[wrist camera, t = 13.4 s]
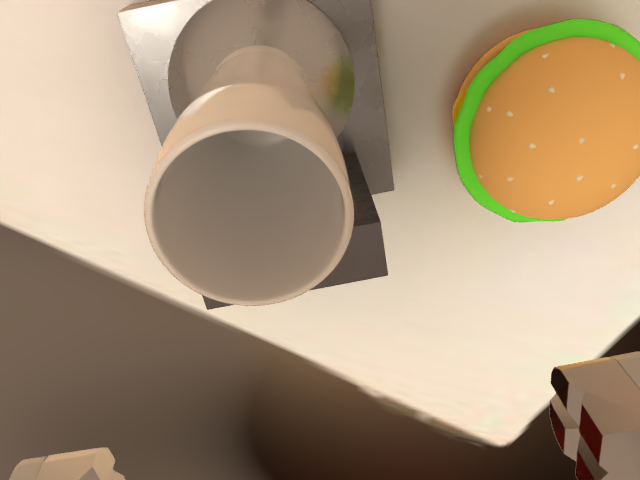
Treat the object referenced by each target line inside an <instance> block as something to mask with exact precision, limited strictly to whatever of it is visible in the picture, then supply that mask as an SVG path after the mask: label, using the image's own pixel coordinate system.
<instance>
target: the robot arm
mask: <svg viewBox="0 0 640 480" xmlns="http://www.w3.org/2000/svg"><path fill="white" fill-rule="evenodd" d="M551 385H552V386H553V388H554V390H555V391H556V394H555V396H554V397H553V398H552V399H551V400H550V418H551V423H552V428H553V431H554V434H555V436H556V439H557V442H558V443H559V445H560V447H561V449H562V451H563V453H564V454H565V455H567V456H569V457H570V458H572V459H573V460H575V461H576V474H575V475H576V477H577V479H578V480H640V352H633V353H628V354H623V355H618V356H612V357H609V358H608V357H606V358H600V359H595V360H590V361H584V362H579V363H574V364H568V365H563V366H558V367H554V369H553V371H552V373H551ZM114 462H115V459H114V457H113V455H112V454H111V452H110V450H109V449H108V448H96V449H89V450H83V451H76V452H69V453H63V454H56V455H50V456H46V457H40V458H33V459H26V460H22V461H21V462H20V463H19V464H18V465H17V466H16V467H15V469H14V471H13V473H12V475H11V477H10V479H9V480H125V478H124V476H123V475H121V474H119V473H117V472H115V471H113V470H112V469H113V465H114Z"/></svg>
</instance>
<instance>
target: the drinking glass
mask: <svg viewBox="0 0 640 480" xmlns="http://www.w3.org/2000/svg"><path fill="white" fill-rule="evenodd" d="M144 219H145V226H146V230H147V234H148V237H149V240H150V243H151V245H152V247H153V249H154V251H155V253H156V255H157V256H158V258H159V259H160V261H161V262H162V264H163V265H164V266H165V267H166V268H167V270H168V271H169V272H170V273H171V274H172V275H173V276H174V277H175V278H176V279H178V280H179V281H180V282H181V283H183V284H184V285H185V286H187V287H189V288H190V289H192V290H193V291H195V292H197V293H199V294H201V295H203V296H205V297H208V298H210V299H213V300H216V301H220V302H224V303H228V304H234V305H243V306H260V305H269V304H275V303H279V302H283V301H286V300H289V299H292V298H294V297H297V296H299V295H301V294H303V293H305V292H307V291H309V290H310V289H312V288H313V287H315V286H316V285H318V284H319V283H320V282H321V281H323V280H324V279H325V278H326V277H327V276H328V275H329V274H330V273H331V272H332V271H333V270H334V268H335V267H336V266H337V264H338V263H339V262H340V260H341V258H342V257H343V255H344V253H345V251H346V249H347V247H348V244H349V241H350V238H351V234H352V230H353V222H354V207H353V199H352V194H351V187H350V181H349V176H348V172H347V167H346V163H345V159H344V156H343V153H342V150H341V147H340V144H339V142H338V139H337V137H336V135H335V133H334V130H333V128H332V126H331V124H330V122H329V121H328V119H327V117H326V115H325V114H324V112H323V110H322V109H321V107H320V105H319V103H318V102H317V100H316V98H315V96H314V94H313V93H312V91H311V89H310V87H309V83H308V80H307V77H306V75H305V73H304V71H303V70H302V68H301V67H300V65H299V64H298V63H297V62H296V61H295V60H294V59H293V58H292V57H291V56H289V55H288V54H287V53H285V52H283V51H281V50H279V49H277V48H274V47H271V46H266V45H251V46H246V47H242V48H240V49H237V50H235V51H233V52H232V53H230V54H229V55H228V56H226V57H225V58H224V59H223V60H222V61H221V62H220V64H219V65H218V66H217V68H216V69H215V71H214V73H213V75H212V77H211V79H210V80H209V81H208V82H207V83H206V85H205V86H204V87H203V88H202V89H201V91H200V92H199V93H198V94H197V95H196V96H195V98H194V99H193V100H192V101H191V102H190V103H189V105H188V106H187V107H186V108H185V110H184V111H183V112H182V113H181V115H180V116H179V118H178V119H177V121H176V122H175V124H174V125H173V127H172V128H171V130H170V132H169V134H168V136H167V138H166V140H165V142H164V144H163V146H162V148H161V150H160V153H159V155H158V158H157V160H156V163H155V166H154V168H153V171H152V175H151V178H150V181H149V183H148V186H147V190H146V194H145V202H144Z"/></svg>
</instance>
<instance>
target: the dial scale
mask: <svg viewBox="0 0 640 480" xmlns="http://www.w3.org/2000/svg"><path fill="white" fill-rule="evenodd" d="M117 14H118V17H119V20H120V23H121V26H122V29H123V32H124V35H125V38H126V41H127V44H128V47H129V50H130V53H131V56H132V59H133V62H134V65H135V68H136V71H137V74H138V77H139V79H140V82H141V85H142V88H143V91H144V94H145V97H146V100H147V103H148V106H149V109H150V112H151V115H152V118H153V121H154V124H155V127H156V130H157V133H158V136H159V139H160V142H161V145H162V146H163V144H164V142H165V140H166V138H167V136H168V134H169V132H170V130H171V128H172V127H173V125H174V124H175V122H176V121H177V119H178V118H179V116H180V115H181V113H182V112H183V111H184V110H185V108H186V107H187V106H188V105H189V103H190V102H191V101H192V100H193V99H194V98H195V96H196V95H197V94H198V93H199V92H200V91H201V89H202V88H203V87H204V86H205V85H206V83H207V82H208V81H209V80H210V79H211V77H212V75H213V73H214V71H215V69H216V68H217V66H218V65H219V64H220V62H221V61H222V60H223V59H224V58H225V57H226V56H228V55H229V54H230V53H232V52H233V51H235V50H237V49H240V48H242V47H246V46H251V45H266V46H271V47H274V48H277V49H279V50H281V51H283V52H285V53H287V54H288V55H289V56H291V57H292V58H293V59H294V60H295V61H296V62H297V63H298V64H299V65H300V67H301V68H302V70H303V71H304V73H305V75H306V77H307V80H308V83H309V87H310V89H311V91H312V93H313V94H314V96H315V98H316V100H317V102H318V103H319V105H320V107H321V109H322V110H323V112H324V114H325V115H326V117H327V119H328V121H329V122H330V124H331V126H332V128H333V130H334V133H335V135H336V137H337V139H338V142H339V144H340V147H341V150H342V153H343V156H344V159H345V163H346V167H347V172H348V176H349V181H350V187H351V194H352V199H353V207H354V222H353V230H352V234H351V238H350V241H349V244H348V247H347V249H346V251H345V253H344V255H343V257H342V258H341V260H340V262H339V263H338V264H337V266H336V267H335V268H334V270H333V271H332V272H331V273H330V274H329V275H328V276H327V277H326V278H325V279H324V280H323V281H321V282H320V283H319V284H318V285H316V286H315V287H313V288H312V289H310V290H314V289H319V288H324V287H329V286H335V285H340V284H345V283H350V282H356V281H361V280H366V279H371V278H377V277H382V276H387V275H388V271H387V264H386V257H385V250H384V243H383V236H382V229H381V222H380V219H379V216H378V214H377V211H376V208H375V205H374V202H373V199H372V197H371V195H372V194H377V193H382V192H388V191H393V190H394V184H393V176H392V168H391V160H390V152H389V144H388V136H387V128H386V120H385V112H384V104H383V96H382V88H381V80H380V72H379V64H378V56H377V48H376V40H375V32H374V24H373V16H372V8H371V0H151V1H146V2H141V3H136V4H131V5H128V6H127V7H125V8H124V9H122V10H121V11H119V12H117ZM202 296H203V295H202ZM203 299H204V302H205V305H206V308H207V310H208V309H214V308H219V307H224V306H230V305H234V304H228V303H224V302H220V301H216V300H213V299H210V298H208V297H205V296H203Z"/></svg>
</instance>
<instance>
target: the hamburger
mask: <svg viewBox="0 0 640 480" xmlns="http://www.w3.org/2000/svg"><path fill="white" fill-rule="evenodd" d="M452 119H453V128H454V130H453V145H454V153H455V160H456V166H457V171H458V174H459V176H460V179H461V181H462V182H463V184H464V186H465V187H466V189H467V190H468V192H469V193H470V194H471V196H472V197H473V198H474V199H475V200H476V201H477V202H478V203H479V204H480V205H482V206H484V207H485V208H487V209H489V210H490V211H492V212H494V213H496V214H498V215H500V216H502V217H504V218H506V219H509V220H511V221H514V222H530V221H561V220H565V219H567V218H573V217H578V216H581V215H584V214H587V213H590V212H593V211H595V210H597V209H599V208H601V207H603V206H605V205H607V204H608V203H610V202H611V201H613V200H614V199H616V198H617V197H619V196H620V195H621V194H622V193H623V192H624V191H625V190H627V189H628V188H629V187H630V186H631V185H632V184H633V182H634V181H635V180H636V179H637V178H638V177H639V176H640V42H639V41H638V40H636V39H635V38H634V37H633V36H631V35H630V34H629V33H627V32H626V31H624V30H623V29H621V28H619V27H617V26H615V25H612V24H609V23H605V22H602V21H596V20H591V19H569V20H565V21H561V22H558V23H555V24H551V25H547V26H544V27H540V28H535V29H530V30H525V31H523V32H520V33H517V34H515V35H512V36H510V37H508V38H507V39H505V40H503V41H501V42H500V43H498V44H497V45H495V46H494V47H493V48H491V49H490V50H489V51H488V52H486V53H485V54H484V55H483V56H482V57H481V59H480V60H479V61H478V62H477V63H476V64H475V65H474V66H473V68H472V69H471V71H470V72H469V74H468V75H467V77H466V78H465V80H464V82H463V84H462V86H461V88H460V90H459V93H458V96H457V99H456V100H455V102H454V105H453V108H452Z"/></svg>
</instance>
